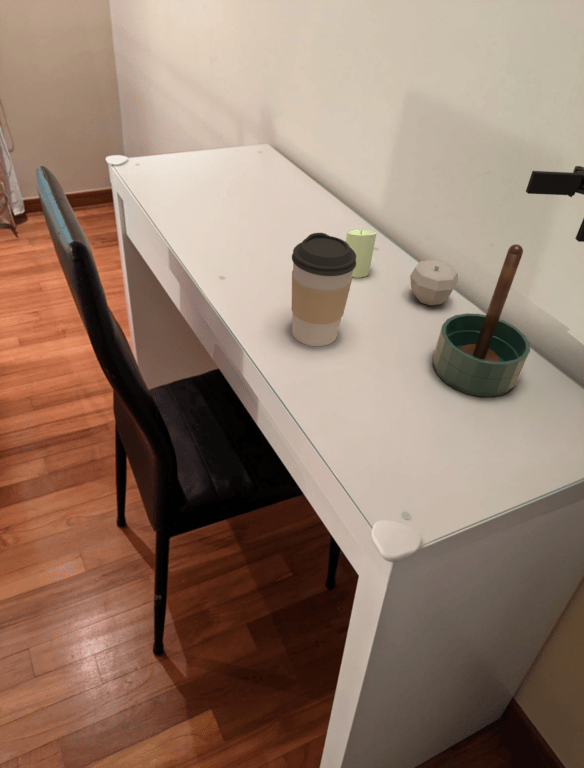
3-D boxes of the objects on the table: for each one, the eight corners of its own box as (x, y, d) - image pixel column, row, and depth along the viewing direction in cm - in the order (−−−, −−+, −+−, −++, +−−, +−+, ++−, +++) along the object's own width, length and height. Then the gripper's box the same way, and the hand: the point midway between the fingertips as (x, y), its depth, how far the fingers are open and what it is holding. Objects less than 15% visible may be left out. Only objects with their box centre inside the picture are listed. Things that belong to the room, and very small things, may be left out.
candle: (337, 265, 110) (343, 222, 105) (362, 263, 112) (370, 221, 107) (347, 279, 107) (354, 235, 102) (373, 277, 108) (381, 234, 103)
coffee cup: (353, 345, 91) (370, 255, 82) (298, 355, 88) (308, 262, 79) (329, 313, 98) (341, 226, 88) (276, 321, 95) (283, 231, 85)
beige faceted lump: (461, 304, 104) (471, 269, 99) (431, 317, 99) (440, 282, 95) (425, 283, 108) (434, 249, 104) (395, 295, 104) (403, 261, 100)
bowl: (533, 389, 87) (548, 355, 83) (462, 405, 83) (475, 370, 79) (483, 341, 95) (494, 308, 92) (416, 353, 91) (425, 319, 87)
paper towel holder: (502, 374, 88) (550, 253, 75) (470, 381, 86) (513, 258, 74) (479, 352, 92) (521, 233, 79) (448, 358, 90) (486, 237, 77)
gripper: (764, 287, 69) (593, 284, 66) (641, 198, 88) (504, 193, 85) (805, 225, 64) (622, 219, 61) (666, 145, 84) (521, 137, 80)
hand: (553, 203), depth 73 cm, fingers open, 13 cm apart
